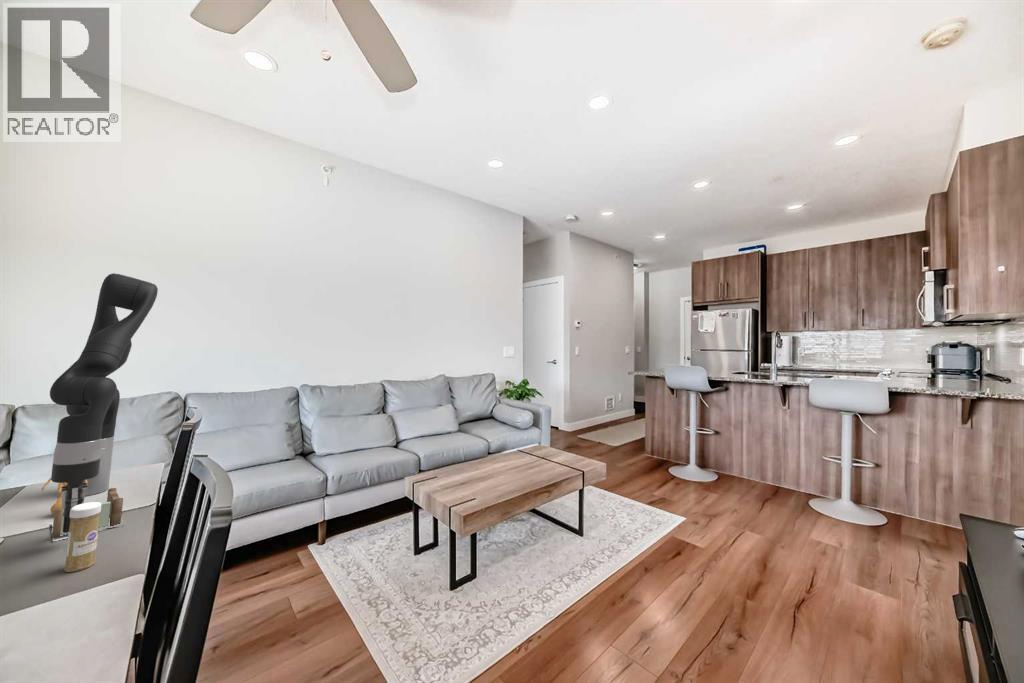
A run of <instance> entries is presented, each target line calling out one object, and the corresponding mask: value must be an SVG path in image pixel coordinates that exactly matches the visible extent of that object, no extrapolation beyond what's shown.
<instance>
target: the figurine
mask: <svg viewBox="0 0 1024 683" xmlns="http://www.w3.org/2000/svg"><path fill="white" fill-rule="evenodd" d="M84 481H85V483H87V480H84ZM50 482H52V481H51V477H50V478H49V479H48V480H47V481H46V482H45V484H43V486H42V488H41V491H44V489H46V488H45V487H46V486H48V484H50ZM87 484H88V483H87ZM57 486H58V487H57V490H56V491H57V495H58V498H57V500H56V502H55V503H53V505H51V507H50V513H51V514H52V515H54V512H55V510H57V509H61V508H62V497H61V489H62V486H67V483H57Z"/></svg>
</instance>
